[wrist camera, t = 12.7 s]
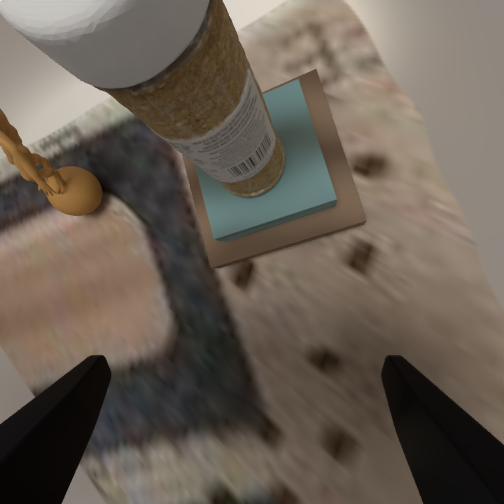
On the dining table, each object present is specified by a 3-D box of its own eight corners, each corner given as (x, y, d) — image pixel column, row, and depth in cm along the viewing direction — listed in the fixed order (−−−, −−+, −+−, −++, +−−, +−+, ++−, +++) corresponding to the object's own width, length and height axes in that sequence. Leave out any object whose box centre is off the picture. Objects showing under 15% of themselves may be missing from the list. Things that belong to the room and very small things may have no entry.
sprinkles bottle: (269, 116, 18) (119, -274, 5) (298, 179, 17) (212, -86, 4) (206, 151, 19) (-53, -101, 6) (232, 212, 18) (1, 75, 5)
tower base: (363, 224, 20) (371, 215, 16) (218, 268, 22) (199, 268, 19) (316, 82, 21) (314, 46, 18) (185, 139, 23) (161, 117, 20)
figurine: (55, 186, 27) (-154, 122, 15) (92, 134, 26) (-97, 26, 14) (109, 244, 25) (-83, 223, 13) (151, 190, 24) (-14, 118, 12)
